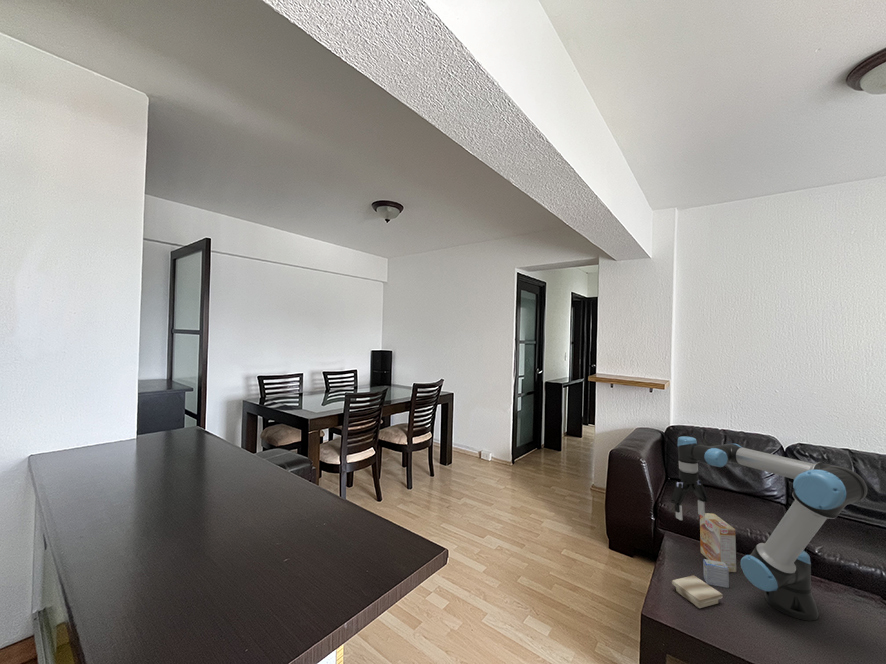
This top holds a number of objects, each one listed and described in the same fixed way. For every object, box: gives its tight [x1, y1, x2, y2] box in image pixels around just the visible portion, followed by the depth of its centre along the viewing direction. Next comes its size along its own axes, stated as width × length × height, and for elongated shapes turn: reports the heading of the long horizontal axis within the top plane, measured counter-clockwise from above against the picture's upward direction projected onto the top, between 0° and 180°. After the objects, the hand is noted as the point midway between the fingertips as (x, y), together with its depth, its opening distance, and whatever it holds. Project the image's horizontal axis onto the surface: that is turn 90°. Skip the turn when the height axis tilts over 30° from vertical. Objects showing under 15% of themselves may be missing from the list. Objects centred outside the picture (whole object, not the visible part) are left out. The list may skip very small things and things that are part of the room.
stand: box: [671, 574, 723, 609], centre depth 145 cm, size 12×12×4 cm
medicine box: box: [702, 558, 730, 589], centre depth 153 cm, size 8×4×9 cm, turn 71°
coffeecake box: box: [699, 512, 737, 573], centre depth 168 cm, size 15×7×20 cm, turn 174°
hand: (690, 517), depth 165 cm, fingers open, 13 cm apart
